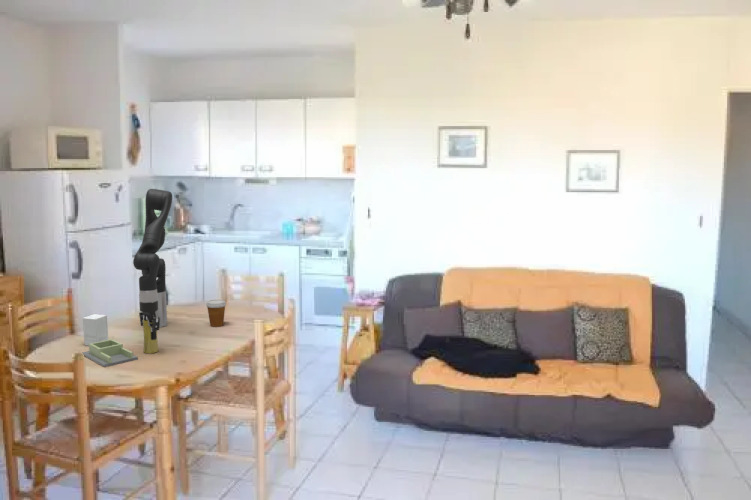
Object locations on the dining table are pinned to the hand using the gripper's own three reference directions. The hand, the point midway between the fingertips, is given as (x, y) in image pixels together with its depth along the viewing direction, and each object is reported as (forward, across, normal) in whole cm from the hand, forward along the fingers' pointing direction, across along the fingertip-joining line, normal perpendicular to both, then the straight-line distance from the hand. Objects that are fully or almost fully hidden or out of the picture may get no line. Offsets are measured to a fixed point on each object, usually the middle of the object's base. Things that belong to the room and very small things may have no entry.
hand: (150, 337), depth 284 cm
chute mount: (+6, -5, -16) cm, 18 cm away
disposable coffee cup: (+6, -16, +43) cm, 46 cm away
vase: (+6, 0, 0) cm, 6 cm away
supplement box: (+6, -27, -12) cm, 30 cm away
